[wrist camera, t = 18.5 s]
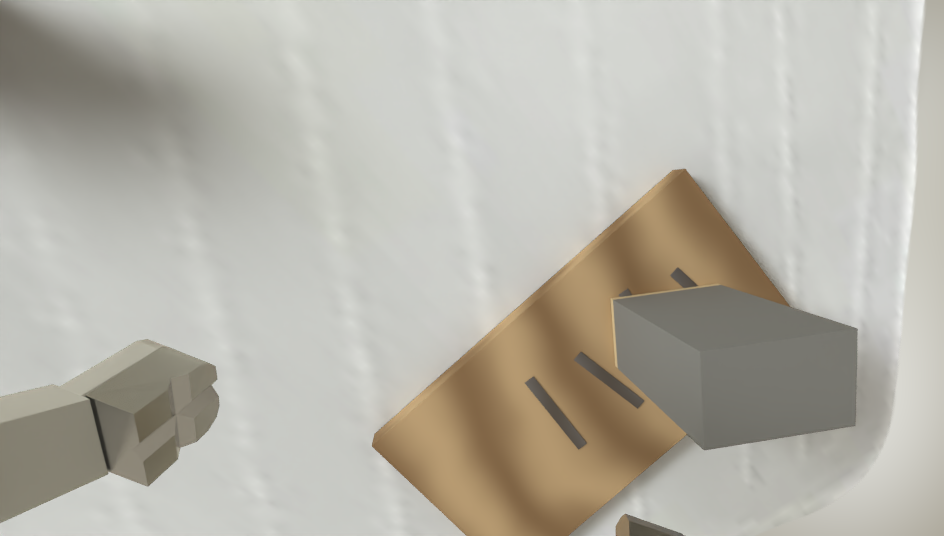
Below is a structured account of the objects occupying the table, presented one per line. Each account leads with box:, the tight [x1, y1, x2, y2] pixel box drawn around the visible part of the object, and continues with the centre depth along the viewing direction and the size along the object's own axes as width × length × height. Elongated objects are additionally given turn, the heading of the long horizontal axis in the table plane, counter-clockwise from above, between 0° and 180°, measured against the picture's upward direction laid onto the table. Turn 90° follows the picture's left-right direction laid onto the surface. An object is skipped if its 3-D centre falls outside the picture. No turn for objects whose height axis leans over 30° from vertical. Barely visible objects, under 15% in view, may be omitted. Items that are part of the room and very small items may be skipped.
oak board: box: [372, 169, 790, 536], centre depth 31 cm, size 26×14×2 cm, turn 132°
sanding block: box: [610, 284, 858, 450], centre depth 25 cm, size 7×4×10 cm, turn 97°
